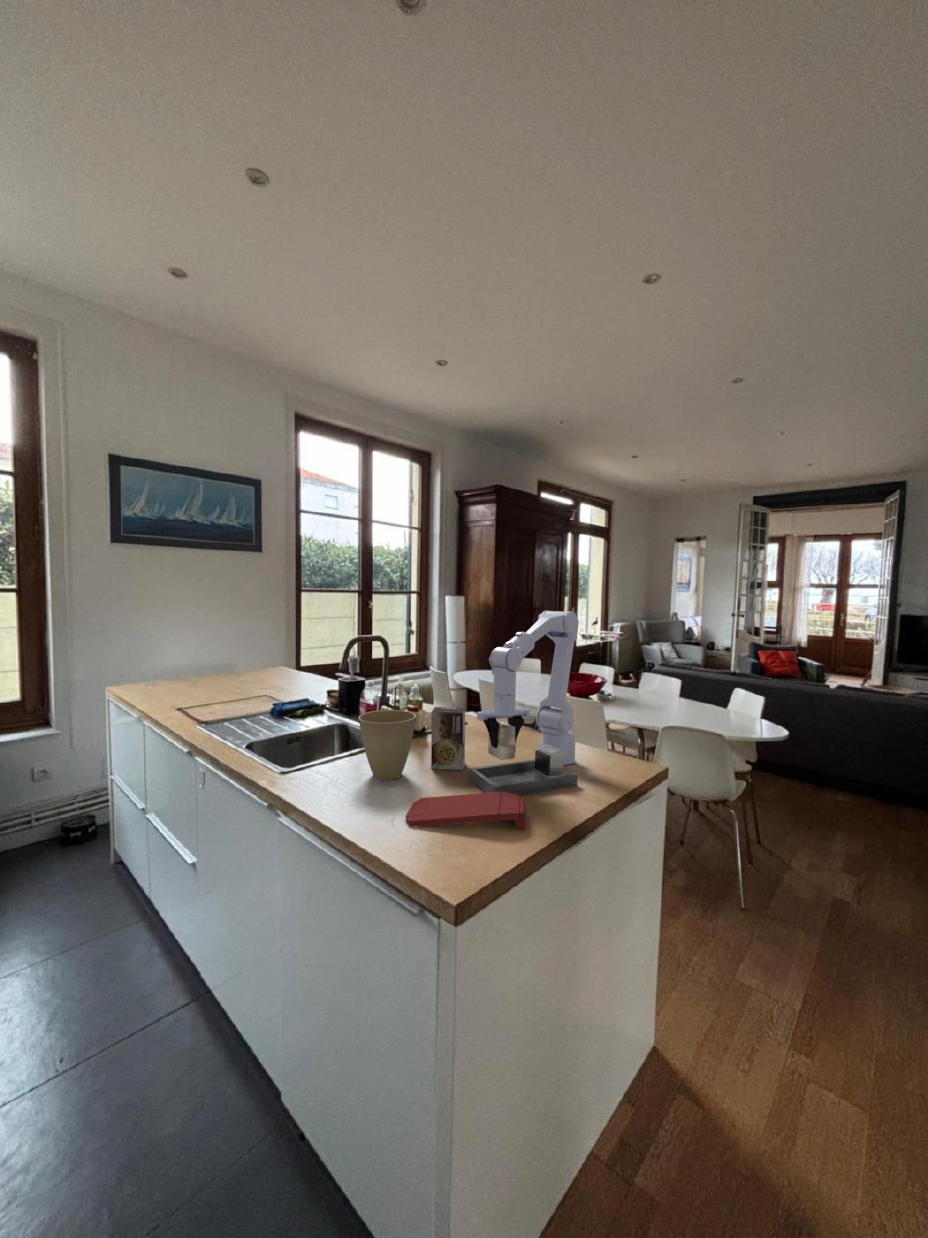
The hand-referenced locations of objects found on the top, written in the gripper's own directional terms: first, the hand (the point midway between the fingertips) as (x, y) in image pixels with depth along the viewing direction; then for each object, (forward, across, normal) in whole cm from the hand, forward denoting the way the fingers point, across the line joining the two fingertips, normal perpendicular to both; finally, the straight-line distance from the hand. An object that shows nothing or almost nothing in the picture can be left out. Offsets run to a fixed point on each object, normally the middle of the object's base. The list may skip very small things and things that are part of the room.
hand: (503, 745), depth 130 cm
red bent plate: (+10, +17, +16) cm, 26 cm away
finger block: (+3, 0, 0) cm, 3 cm away
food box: (+10, +9, -16) cm, 21 cm away
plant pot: (+10, +27, -15) cm, 32 cm away
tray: (+9, -4, +3) cm, 11 cm away
